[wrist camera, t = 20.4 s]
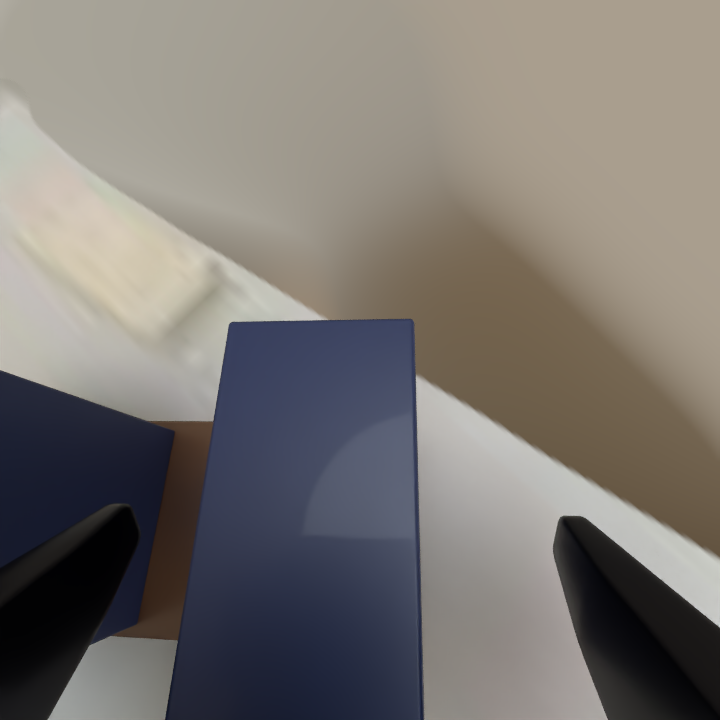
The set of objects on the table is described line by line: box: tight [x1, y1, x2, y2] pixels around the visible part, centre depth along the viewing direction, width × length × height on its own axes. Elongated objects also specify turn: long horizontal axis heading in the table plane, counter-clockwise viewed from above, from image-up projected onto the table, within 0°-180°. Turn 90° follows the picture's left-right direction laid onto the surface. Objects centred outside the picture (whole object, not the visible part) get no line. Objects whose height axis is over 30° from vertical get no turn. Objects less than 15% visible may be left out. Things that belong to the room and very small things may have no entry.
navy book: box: [165, 319, 424, 720], centre depth 10 cm, size 8×3×11 cm, turn 179°
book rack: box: [112, 421, 213, 640], centre depth 12 cm, size 8×18×11 cm, turn 89°
